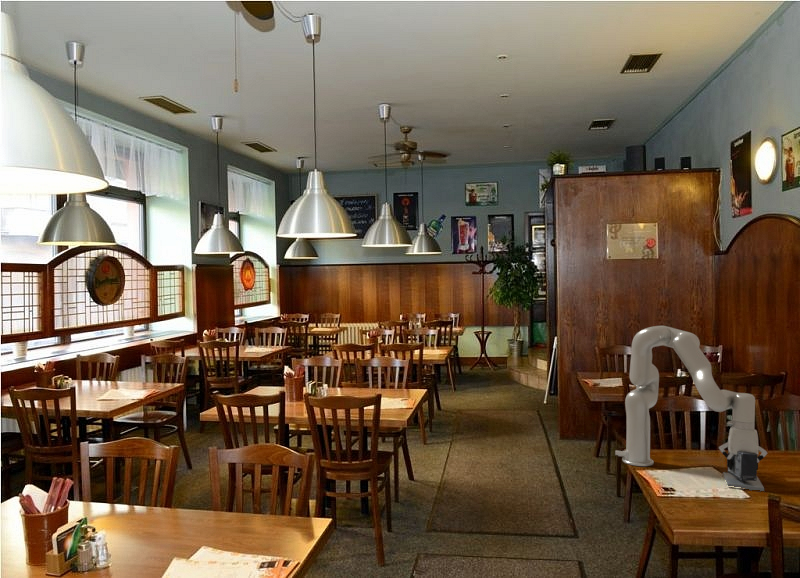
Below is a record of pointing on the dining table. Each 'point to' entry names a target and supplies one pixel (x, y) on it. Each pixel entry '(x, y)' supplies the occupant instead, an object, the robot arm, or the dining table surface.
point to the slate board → (743, 482)
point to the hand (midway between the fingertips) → (742, 470)
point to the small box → (744, 466)
